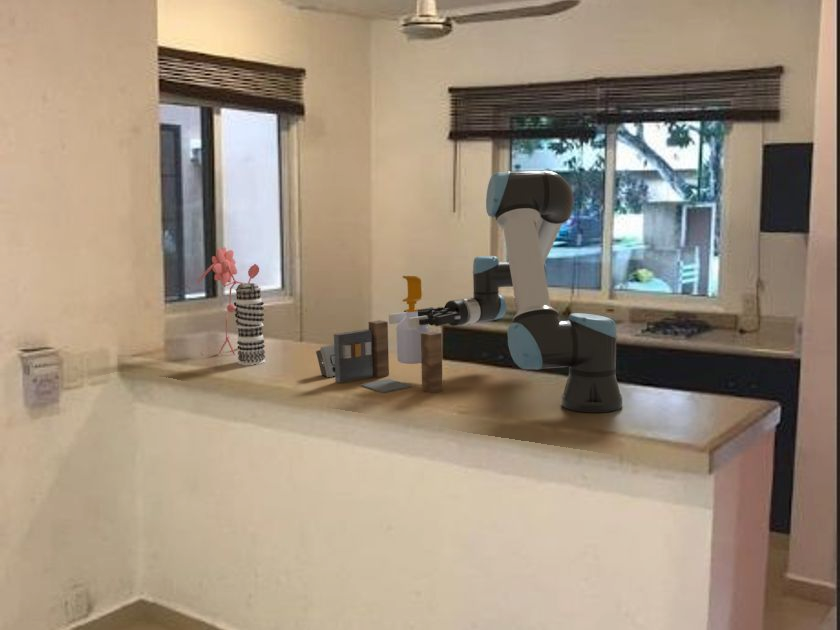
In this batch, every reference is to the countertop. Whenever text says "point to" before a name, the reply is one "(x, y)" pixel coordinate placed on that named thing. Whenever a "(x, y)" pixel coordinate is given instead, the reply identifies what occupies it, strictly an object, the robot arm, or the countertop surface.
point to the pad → (386, 385)
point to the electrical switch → (326, 360)
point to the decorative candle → (249, 324)
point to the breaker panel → (353, 355)
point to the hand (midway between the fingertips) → (399, 321)
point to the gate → (429, 355)
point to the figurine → (227, 277)
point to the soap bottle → (410, 336)
